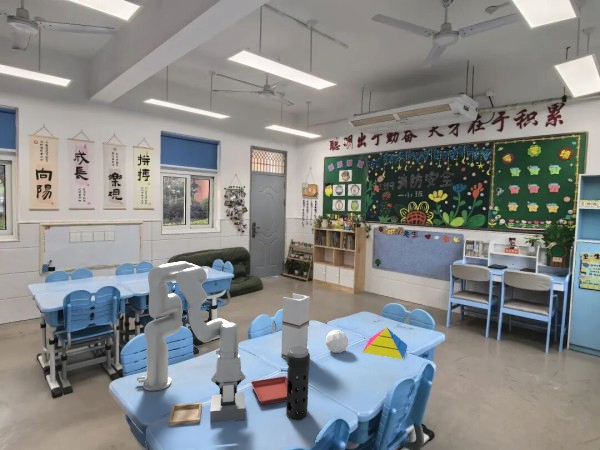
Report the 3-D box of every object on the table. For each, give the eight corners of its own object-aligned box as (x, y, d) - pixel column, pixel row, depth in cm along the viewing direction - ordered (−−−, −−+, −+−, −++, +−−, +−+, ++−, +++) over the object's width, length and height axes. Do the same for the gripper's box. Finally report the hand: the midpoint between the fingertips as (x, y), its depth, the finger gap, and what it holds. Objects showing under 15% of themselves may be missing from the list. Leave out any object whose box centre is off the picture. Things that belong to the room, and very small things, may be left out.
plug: (222, 402, 149) (223, 383, 148) (222, 396, 153) (223, 378, 152) (233, 401, 149) (233, 382, 149) (233, 395, 154) (233, 377, 153)
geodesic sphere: (335, 334, 227) (329, 321, 220) (355, 340, 219) (349, 326, 212) (325, 353, 219) (318, 340, 211) (345, 360, 211) (339, 347, 203)
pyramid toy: (404, 362, 206) (405, 337, 205) (361, 353, 215) (362, 330, 214) (408, 345, 229) (409, 323, 228) (368, 338, 238) (369, 317, 237)
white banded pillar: (308, 355, 209) (310, 296, 206) (298, 362, 200) (300, 300, 197) (291, 350, 215) (293, 293, 212) (281, 357, 206) (283, 297, 203)
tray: (168, 427, 141) (168, 422, 141) (172, 409, 153) (172, 404, 153) (199, 424, 144) (199, 419, 143) (201, 406, 155) (201, 402, 155)
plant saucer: (250, 387, 173) (250, 381, 173) (285, 381, 179) (286, 375, 179) (259, 408, 156) (259, 401, 156) (298, 401, 162) (298, 394, 162)
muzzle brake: (300, 404, 160) (281, 412, 153) (302, 343, 157) (282, 348, 151) (314, 414, 152) (294, 423, 146) (316, 350, 150) (296, 357, 144)
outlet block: (210, 423, 144) (210, 411, 144) (211, 406, 156) (211, 394, 156) (245, 419, 147) (245, 408, 147) (243, 403, 159) (244, 392, 159)
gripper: (207, 358, 144) (207, 401, 146) (249, 355, 148) (248, 398, 149) (208, 350, 152) (208, 391, 153) (248, 348, 155) (247, 388, 156)
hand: (228, 394), depth 151 cm, fingers closed on plug, 4 cm apart
